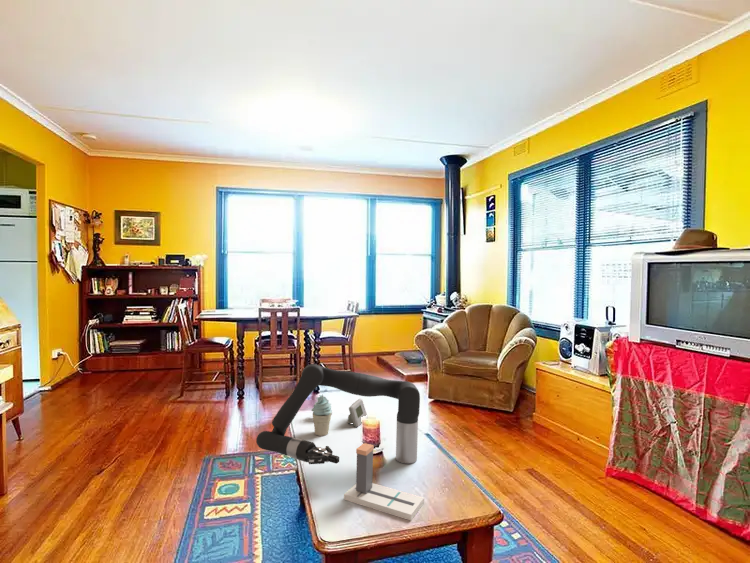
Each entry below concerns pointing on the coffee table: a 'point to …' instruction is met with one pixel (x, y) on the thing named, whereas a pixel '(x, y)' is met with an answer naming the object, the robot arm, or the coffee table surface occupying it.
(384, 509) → the plate
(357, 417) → the digital clock
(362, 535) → the coffee table surface
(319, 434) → the ice cream cone
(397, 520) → the coffee table surface
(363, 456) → the post
